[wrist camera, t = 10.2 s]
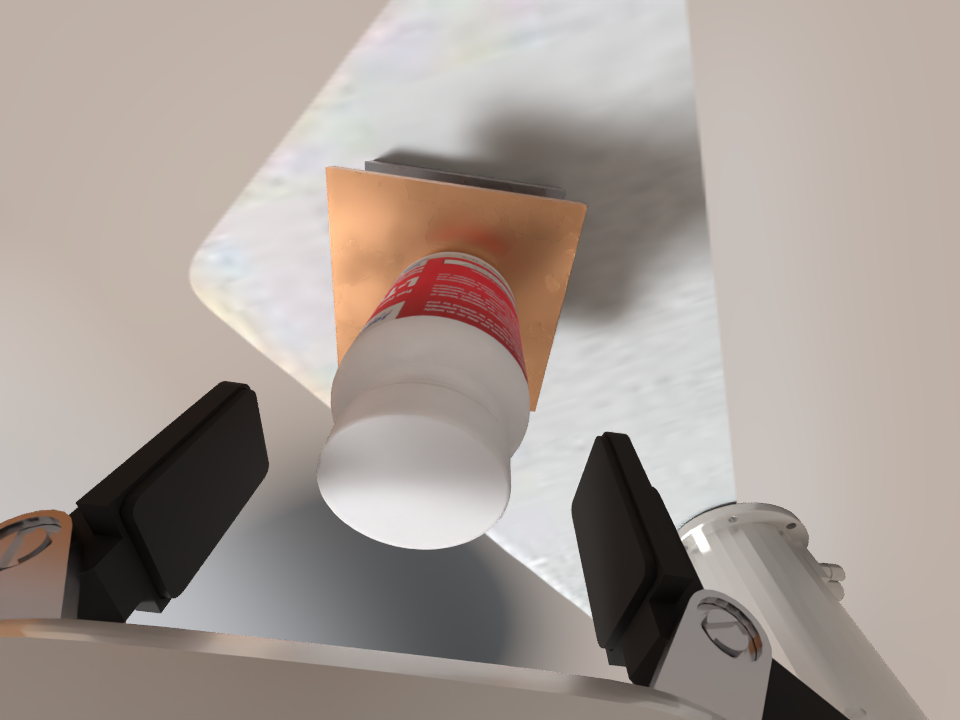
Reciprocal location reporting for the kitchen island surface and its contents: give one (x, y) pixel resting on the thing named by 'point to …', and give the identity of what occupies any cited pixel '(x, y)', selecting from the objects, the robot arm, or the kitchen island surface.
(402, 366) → the pill bottle
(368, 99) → the kitchen island surface
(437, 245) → the stand
